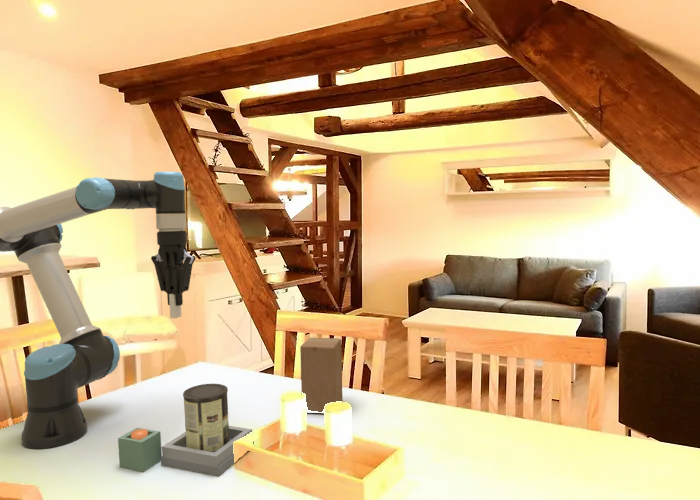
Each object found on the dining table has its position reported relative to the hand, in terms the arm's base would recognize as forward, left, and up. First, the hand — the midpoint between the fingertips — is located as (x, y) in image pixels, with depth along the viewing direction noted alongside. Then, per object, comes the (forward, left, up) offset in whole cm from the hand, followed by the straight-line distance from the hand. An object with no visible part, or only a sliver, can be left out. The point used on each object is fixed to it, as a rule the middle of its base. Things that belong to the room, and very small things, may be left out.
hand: (175, 317), depth 141 cm
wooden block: (+32, +24, -31) cm, 50 cm away
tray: (+18, -12, -30) cm, 37 cm away
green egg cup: (+5, -20, -30) cm, 37 cm away
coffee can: (+18, -12, -29) cm, 36 cm away
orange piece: (+5, -20, -28) cm, 35 cm away
